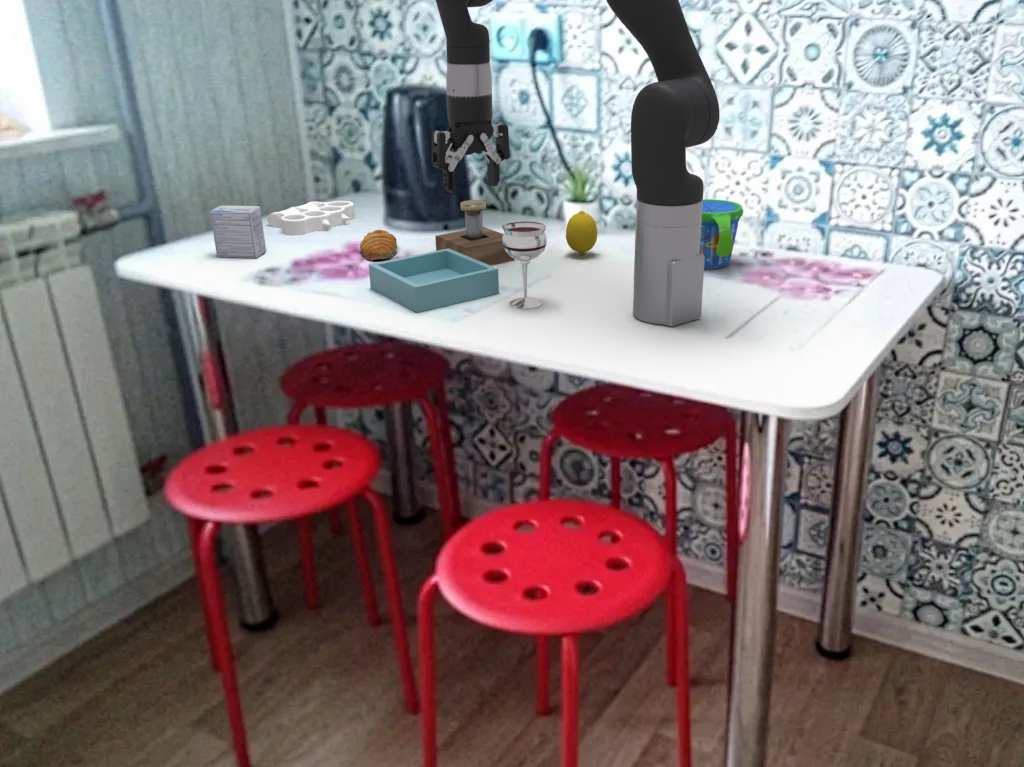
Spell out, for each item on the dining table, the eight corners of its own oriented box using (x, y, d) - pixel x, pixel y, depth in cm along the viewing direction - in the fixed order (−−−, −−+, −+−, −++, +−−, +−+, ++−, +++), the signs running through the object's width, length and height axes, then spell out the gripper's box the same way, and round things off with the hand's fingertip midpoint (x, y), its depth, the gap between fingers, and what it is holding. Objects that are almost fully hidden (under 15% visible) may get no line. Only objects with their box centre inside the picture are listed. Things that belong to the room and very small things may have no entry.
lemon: (585, 261, 168) (586, 216, 165) (559, 256, 171) (559, 212, 168) (602, 254, 172) (603, 209, 169) (577, 249, 175) (577, 205, 172)
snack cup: (667, 252, 172) (669, 196, 168) (725, 250, 173) (729, 194, 169) (686, 279, 158) (689, 218, 154) (749, 277, 158) (754, 215, 154)
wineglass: (550, 297, 151) (550, 221, 146) (543, 311, 145) (542, 233, 140) (508, 295, 152) (506, 220, 148) (499, 309, 146) (497, 231, 141)
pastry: (399, 261, 171) (397, 240, 170) (360, 264, 170) (358, 243, 169) (397, 247, 180) (395, 227, 178) (360, 250, 179) (358, 229, 177)
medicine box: (267, 252, 178) (261, 205, 174) (257, 259, 174) (251, 211, 170) (227, 251, 179) (220, 204, 176) (216, 257, 175) (209, 210, 172)
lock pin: (492, 259, 171) (490, 203, 167) (471, 263, 168) (469, 207, 164) (478, 253, 174) (476, 198, 170) (458, 258, 172) (455, 202, 168)
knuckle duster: (318, 211, 207) (370, 220, 200) (255, 231, 194) (309, 240, 186) (317, 196, 206) (369, 204, 198) (253, 214, 192) (307, 223, 185)
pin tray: (499, 293, 153) (498, 268, 152) (416, 312, 146) (415, 287, 144) (449, 271, 165) (448, 248, 163) (370, 288, 157) (368, 264, 155)
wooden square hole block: (514, 259, 170) (514, 237, 168) (466, 270, 165) (465, 247, 163) (483, 247, 178) (482, 226, 176) (436, 257, 172) (435, 235, 171)
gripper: (444, 97, 153) (448, 199, 160) (517, 90, 160) (518, 187, 167) (420, 92, 159) (425, 191, 165) (492, 85, 166) (494, 179, 173)
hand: (472, 189), depth 166 cm, fingers open, 8 cm apart
